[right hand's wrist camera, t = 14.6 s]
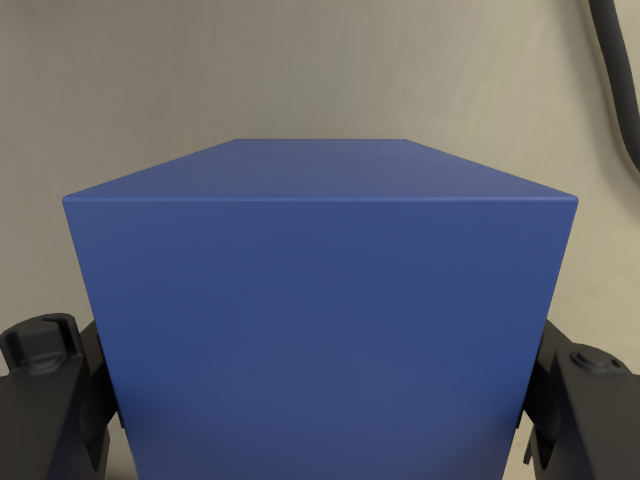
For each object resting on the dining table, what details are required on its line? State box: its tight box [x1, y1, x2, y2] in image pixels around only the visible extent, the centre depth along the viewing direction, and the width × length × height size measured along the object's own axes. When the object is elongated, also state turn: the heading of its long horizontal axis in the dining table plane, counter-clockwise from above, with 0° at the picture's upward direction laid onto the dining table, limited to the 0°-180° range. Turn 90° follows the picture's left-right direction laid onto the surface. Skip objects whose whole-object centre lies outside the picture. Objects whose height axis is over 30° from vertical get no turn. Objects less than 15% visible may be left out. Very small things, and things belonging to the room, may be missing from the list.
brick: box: [62, 139, 578, 480], centre depth 12 cm, size 8×9×12 cm
